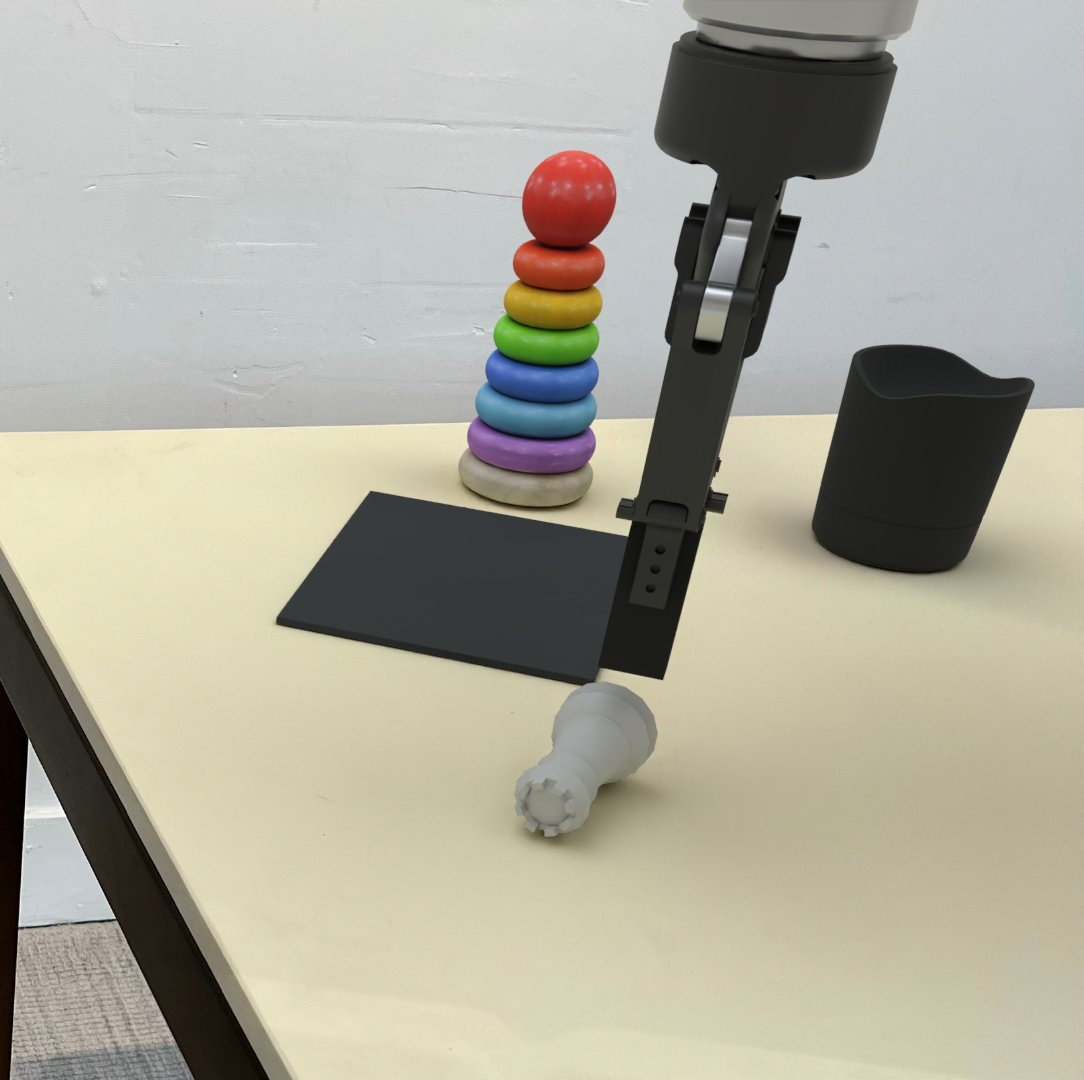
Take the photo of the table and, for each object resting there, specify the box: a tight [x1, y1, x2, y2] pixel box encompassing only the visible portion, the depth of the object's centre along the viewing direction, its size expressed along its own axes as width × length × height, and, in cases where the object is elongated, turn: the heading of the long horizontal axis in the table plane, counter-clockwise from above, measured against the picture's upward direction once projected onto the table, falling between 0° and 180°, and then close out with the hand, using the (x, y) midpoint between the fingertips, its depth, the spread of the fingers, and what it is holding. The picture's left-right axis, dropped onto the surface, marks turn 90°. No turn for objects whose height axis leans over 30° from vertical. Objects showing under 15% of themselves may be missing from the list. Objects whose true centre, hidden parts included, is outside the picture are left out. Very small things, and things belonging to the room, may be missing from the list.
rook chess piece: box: [513, 681, 659, 838], centre depth 78 cm, size 4×4×8 cm
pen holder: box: [811, 343, 1036, 573], centre depth 103 cm, size 9×9×10 cm
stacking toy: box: [457, 150, 617, 507], centre depth 105 cm, size 8×8×19 cm
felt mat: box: [275, 490, 628, 686], centre depth 99 cm, size 16×20×1 cm
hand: (632, 666), depth 77 cm, fingers closed
